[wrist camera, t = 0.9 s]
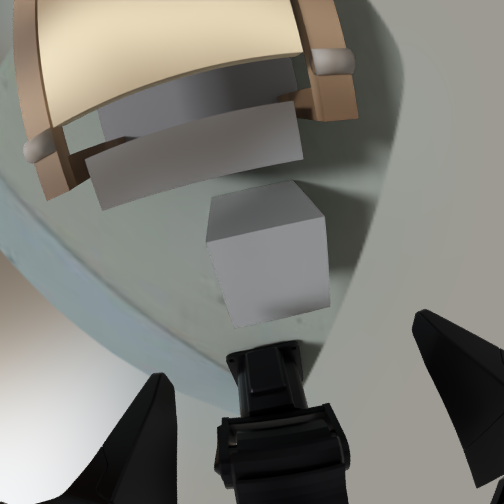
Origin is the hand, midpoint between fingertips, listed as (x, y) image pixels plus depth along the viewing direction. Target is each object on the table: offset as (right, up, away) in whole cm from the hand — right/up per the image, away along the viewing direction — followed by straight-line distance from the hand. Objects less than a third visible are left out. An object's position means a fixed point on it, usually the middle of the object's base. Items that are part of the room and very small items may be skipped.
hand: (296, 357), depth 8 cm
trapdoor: (-5, +13, +1) cm, 14 cm away
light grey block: (-1, +5, +9) cm, 11 cm away
